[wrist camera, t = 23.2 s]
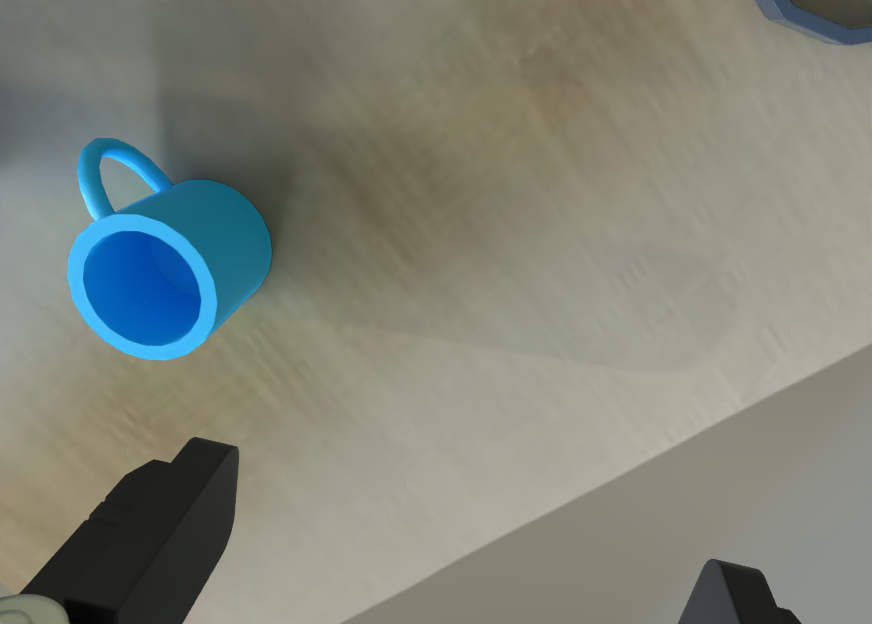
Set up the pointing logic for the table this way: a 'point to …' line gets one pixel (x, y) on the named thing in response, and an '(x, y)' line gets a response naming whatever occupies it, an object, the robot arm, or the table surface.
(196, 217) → the mug
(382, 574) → the table surface
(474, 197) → the table surface
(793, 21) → the ring
